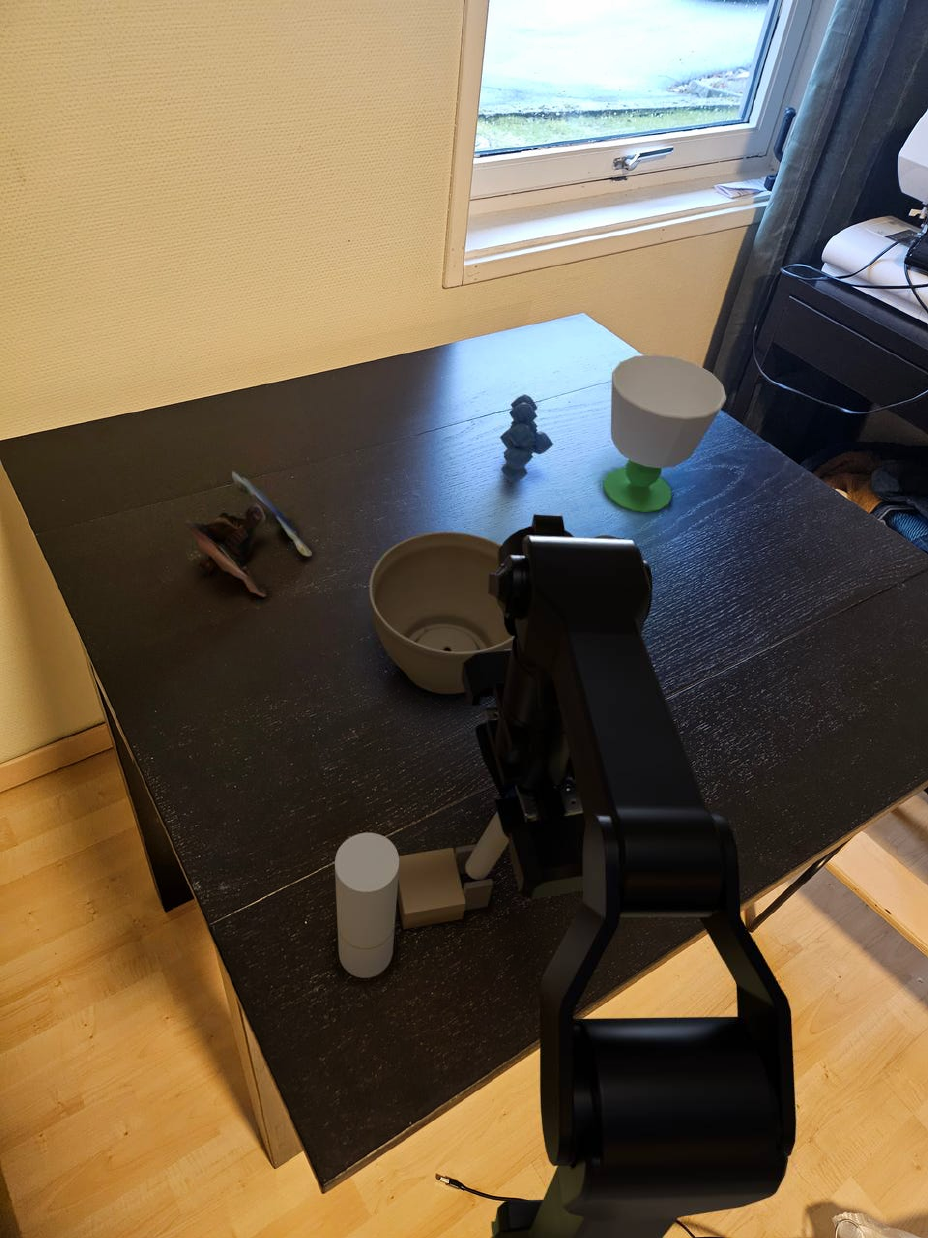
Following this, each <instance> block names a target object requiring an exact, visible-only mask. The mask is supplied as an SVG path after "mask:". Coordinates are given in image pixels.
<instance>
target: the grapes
mask: <svg viewBox="0 0 928 1238" xmlns="http://www.w3.org/2000/svg"><path fill="white" fill-rule="evenodd" d="M510 406H511V410H510V411H509V415H510V417H511V418H512V419H513V420H512V421H511V422H510V424H511V425H510V427H509V428H508V429H507V430H505V432H503V433H502V434H501V435H500V436H499V439H500V441H501V442H502V443H503V445H504V447H505V448H506V450H505V451H503V459H504V460H505V462H506V463H505V464H504V465H502V466H501V473H502V474H503V475H504V477H505V478H506V479H507V481H508V482H510V483H513V484H515V483H518V482H520V481H521V480H523V479H524V478H525V477H526V476H527V475H528V474H529V472H528V470H527V468H526V467H525V466H527V464H529V463H530V462H531V459H533V458H534V456H533V454H534V453H535V454H537V455H541V454H544V453H546V452H547V451H548V450H549V449H550V448H551V447H553V445H554V443H553V442H552V440H551V438H550V437H549V435H548V434H547V433H546V432H544V431H541V430H539V431H538V429H537V428H538V427H539V426H538V424H537V423H536V421H535V419H537V418H538V414H537V413H536V411H537V410H538V406H537V405H536V403H535V401H534V400H533V399H532V397H531V396H530V395H527V394H522V395H520V396H518V397H517V398H516V399H515V400H514V401H513V402H511V404H510Z"/></svg>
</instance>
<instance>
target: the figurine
mask: <svg viewBox="0 0 928 1238" xmlns="http://www.w3.org/2000/svg"><path fill="white" fill-rule="evenodd" d="M231 476H232V479H233V482H234V485H235V486H236V487H237V489H238V490H239V491H240V492H241V493H244V494H247V495H248V496H249V498H250V499H252V500H254V496H255V497H257V498H258V499H259V500H260V502H261V503H263V504H264V505H265V506H266V507H267V508H268V509H269V510H270V511H271V512H272V513H273V514H274V515H275V517H276V519H277V521H279V522H278V523H280V525H281V527H282V529H284V532H285V533H286V534H287V536H288V537H289V538H290V539H291V540H293V543H294V544H295V547H296V549H297V550H298V552H299V553H300V554H301V555H303V556H305V557H311V556H312V555H313V553H312V551H311V549H310V548H309V547H308V546H307V544H306V543H305V542H304V540H302V539H301V537H300V536H299V535H298V531H297V529H296V528H295V527H294V526H293V525H292V523H291V522H290V521H289V519H288V518H286V517H285V516H284V515H283V513H282V512H281V511H280V510H279V509H278V508H277V507H276V506H275V505H274V504H273V502H272V501H270V499H269V498H268V497H267V495H265V493H264V492H263V491H262V490H260V489H258V488H256V486H254V485H253V484H252V483H251V482H250V481H249V480H248V479H247V478H246V477H241V476H240V475H239V474H238V473H237V472H235V471H231ZM265 521H266V515H265V514H264V510H263V508H261V506H260V505H259V504H258V503H257V502H253V503H252V504H251V505H250V506H249V508H248V509H247V510H246V511H245V518H241V517H236V516H234V515H229V514H228V513H227V512H222V513H220V514H219V515H218V517H217V518H216V519H215V520H214V519H213V520H211V521H210V522H208V523H206V524H204V523H199V524H198V523H197V522H195V521H191V520H188V519H185V521H184V524H185V525H186V528H187V529H188V530H189V532H190V534H191V535H192V536H193V537H194V538H195V540H196V542H197V543H198V548H199V549H201V550H202V551H203V552H204V553H206V554H207V555H208V559H206V560H205V561H202V562H200V563H199V564H198V567H199V568H200V571H201V572H205V573H206V574H210V573H211V572H212V570H213V568H214V567H215V565H216V564H217V565H218V566H219V568H220V569H221V570H222V571H223V572H226V573H230V574H231V576H233V577H235V578H238V579H240V580H242V581H243V582H244V584H245V586H246V587H247V589H248V590H249V592H250V593H253V594H256V595H258V596H260V597H263V598H265V597H266V596H267V591H266V590H265V588H263V587H262V586H259V585H258V583H256V580H255V578H254V577H253V576H252V575H251V573H250V571H249V569H248V567H247V566H246V559H247V557H248V556H249V554H251V552H252V550H251V549H252V548H253V544H254V541H255V539H256V535H257V533H256V531H257V527H261V526H262V524H263V523H264V522H265Z"/></svg>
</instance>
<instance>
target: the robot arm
mask: <svg viewBox="0 0 928 1238" xmlns="http://www.w3.org/2000/svg"><path fill="white" fill-rule="evenodd" d="M634 541H635V540H632V539H629V538H628V539H627V538H622V539H608V538H594V537H581V536H580V537H579V536H578V537H577V536H574V535H573V534H572V533H571V532H569V531H568V530H566V528H565V522H564V517H563V515H561V514H541V513H540V514H539V513H537V514H536V513H534V514H533V516H532V521H531V525H530V526H527V527H524V528H521V529H519V530H517V531H515V532H514V533H512V534H510V535H509V536H508V537H507V538H506V539H505V540H504V542H503V543H502V544H501V546H500V547H499V550H498V566H499V568H498V569H497V570H496V572H495V573H489V589H488V594H491V595H493V596H495V597H496V598H497V603H498V604H499V606H500V608H501V610H502V611H503V617H504V625H505V628H506V630H507V632H508V633H509V635H511V636H514V639H513V643H512V648H511V649H502V650H493V651H484V652H477V653H475V654H474V655H472V656H471V657H470V658H468V659H467V660H466V661H465V662H463V668H462V676H461V679H462V682H463V686H464V690H465V692H464V694H465V696H466V700H467V701H466V702H467V705H468V706H470V707H476V706H477V707H478V706H480V704H481V698H488V697H493V699H494V701H495V705H496V706H495V707H487V708H485V709H484V712H483V713H484V718H485V721H486V722H482V723H479V724H477V725H476V727H475V729H474V733H475V736H476V739H477V743H478V746H479V751H480V754H481V757H482V760H483V762H484V765H485V767H486V769H487V771H488V773H489V775H490V778H491V780H492V781H493V784H494V786H495V788H496V791H497V793H498V795H499V797H500V798H497V799H494V805H495V808H496V809H495V810H496V812H497V813H498V816H499V820H500V824H501V827H502V831H503V833H504V835H505V836H506V837H507V838H509V843H508V848H509V849H508V850H509V857H510V861H511V864H512V868H513V872H514V875H515V879H516V882H517V886H518V890H519V893H520V894H522V895H523V896H524V897H526V898H528V899H529V900H536V899H541V898H549V897H554V896H559V895H565V894H570V893H577V892H581V891H582V902H581V905H580V906H579V908H578V910H577V912H576V913H575V916H574V917H573V919H572V921H571V923H570V925H569V927H568V929H567V930H566V931H565V934H564V936H563V938H562V940H561V941H560V943H559V945H558V947H557V949H556V951H555V953H554V955H553V956H552V958H551V960H550V962H549V963H548V966H547V967H546V970H545V971H544V973H543V975H542V978H541V982H540V986H539V1097H540V1098H539V1099H540V1101H539V1102H540V1117H541V1129H542V1135H543V1141H544V1148H545V1152H546V1155H547V1159H548V1162H549V1163H550V1164H551V1165H552V1167H556V1168H555V1171H554V1174H553V1176H552V1178H551V1180H550V1183H549V1184H548V1187H547V1190H546V1192H545V1194H544V1196H543V1198H542V1199H521V1200H520V1199H518V1200H504V1201H503V1202H502V1203H501V1204H500V1205H499V1206H497V1208H496V1214H495V1218H494V1220H492V1221H491V1226H490V1227H491V1234H492V1236H491V1237H490V1238H665V1236H666V1235H667V1233H668V1232H669V1230H670V1229H671V1228H672V1226H673V1225H674V1224H675V1222H676V1221H677V1220H679V1219H680V1218H684V1217H689V1216H695V1215H700V1214H708V1213H713V1212H721V1211H726V1210H733V1209H734V1210H735V1209H740V1208H744V1207H748V1206H750V1205H753V1204H755V1203H759V1202H761V1201H763V1200H766V1199H769V1198H771V1197H773V1196H775V1195H776V1194H777V1193H778V1191H779V1190H780V1189H779V1188H780V1187H781V1185H782V1182H783V1181H784V1179H785V1176H786V1174H787V1169H788V1163H789V1157H790V1156H792V1154H793V1153H792V1152H793V1149H794V1147H795V1144H796V1138H797V1137H796V1135H797V1110H796V1088H795V1069H794V1068H795V1067H794V1066H795V1065H794V1046H793V1025H792V1023H793V1022H792V1010H791V1006H790V1003H789V999H788V997H787V995H786V993H785V991H784V990H783V988H782V987H781V985H780V983H779V982H778V981H779V980H777V978H776V976H775V975H774V973H773V971H772V969H771V968H770V966H769V964H768V962H767V961H766V958H765V957H764V955H763V953H762V952H761V950H760V948H759V946H758V945H757V943H756V941H755V939H754V938H753V936H752V934H751V933H750V931H749V929H748V927H747V926H746V924H745V922H744V921H743V919H742V915H741V914H742V913H741V912H742V911H741V890H740V889H741V887H740V885H741V884H740V865H739V856H738V849H737V848H738V847H737V843H736V840H735V836H734V833H733V830H732V828H731V826H730V824H729V823H728V821H727V819H726V818H725V817H723V816H722V815H721V814H719V813H711V812H710V810H709V808H708V806H707V804H706V800H705V798H704V796H703V792H702V790H701V787H700V784H699V782H698V779H697V777H696V774H695V772H694V769H693V765H692V763H691V761H690V758H689V756H688V753H687V750H686V748H685V745H684V743H683V740H682V738H681V735H680V732H679V730H678V727H677V724H676V722H675V719H674V717H673V714H672V711H671V709H670V706H669V704H668V701H667V698H666V696H665V693H664V690H663V688H662V685H661V683H660V679H659V677H658V674H657V672H656V669H655V667H654V664H653V661H652V659H651V657H650V654H649V651H648V648H647V646H646V643H645V641H644V638H643V635H642V633H643V630H644V626H645V622H646V621H647V619H648V617H649V614H650V610H651V607H652V602H653V601H652V600H653V590H654V589H653V585H654V584H653V575H652V570H651V566H650V565H649V562H648V561H647V560H646V559H644V558H643V555H642V552H641V549H640V548H639V546H638V545H637V543H636V542H634ZM512 788H516V791H517V794H518V796H516V797H510V798H505V796H506V795H507V793H508V791H509V790H510V789H512ZM620 918H699V921H700V922H701V924H702V926H703V927H704V929H705V931H706V933H707V934H708V936H709V938H710V940H711V942H712V943H713V945H714V947H715V949H716V951H717V952H718V954H719V956H720V957H721V959H722V961H723V963H724V965H725V966H726V968H727V970H728V972H729V973H730V975H731V977H732V979H733V980H734V982H735V986H736V1012H737V1014H736V1015H737V1016H683V1017H680V1016H679V1017H678V1016H676V1017H674V1016H673V1017H670V1016H669V1017H608V1018H607V1017H606V1018H605V1017H604V1018H603V1017H601V1018H598V1017H597V1018H594V1017H593V1018H574V1012H575V1009H576V1007H577V1006H578V1003H579V1001H580V999H581V998H582V996H583V994H584V992H585V990H586V988H587V986H588V985H589V982H590V981H591V979H592V977H593V974H594V973H595V971H596V969H597V967H598V965H599V963H600V961H601V959H602V958H603V956H604V954H605V951H606V950H607V949H608V947H609V944H610V942H611V941H612V938H613V937H614V935H615V933H616V931H617V929H618V927H619V923H620V920H621V919H620Z"/></svg>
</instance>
